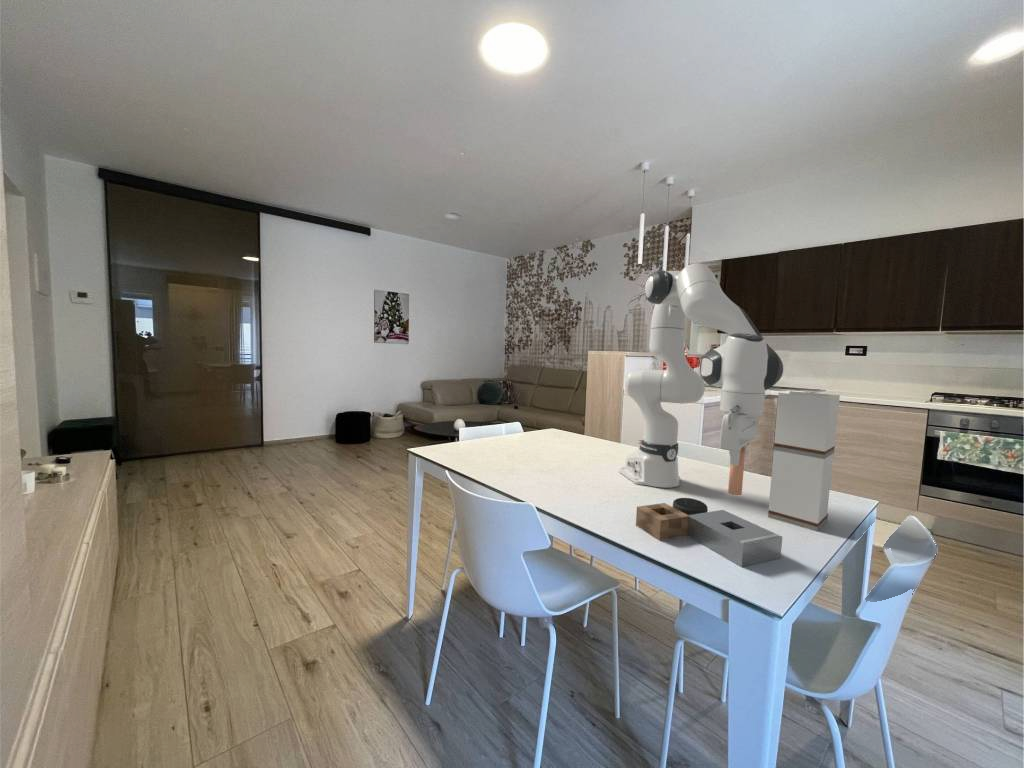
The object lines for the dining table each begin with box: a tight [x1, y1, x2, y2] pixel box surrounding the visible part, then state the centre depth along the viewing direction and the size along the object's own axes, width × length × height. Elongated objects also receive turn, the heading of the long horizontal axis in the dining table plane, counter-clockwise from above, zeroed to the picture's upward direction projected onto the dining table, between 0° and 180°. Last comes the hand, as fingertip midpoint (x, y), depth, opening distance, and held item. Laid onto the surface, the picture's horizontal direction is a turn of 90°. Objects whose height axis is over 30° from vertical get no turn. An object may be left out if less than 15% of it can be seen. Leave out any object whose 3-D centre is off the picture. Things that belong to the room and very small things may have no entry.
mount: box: [635, 502, 688, 541], centre depth 106 cm, size 9×9×5 cm
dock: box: [686, 509, 783, 568], centre depth 98 cm, size 16×12×5 cm
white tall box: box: [767, 390, 841, 532], centre depth 114 cm, size 11×11×35 cm
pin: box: [727, 447, 746, 496], centre depth 96 cm, size 3×3×11 cm
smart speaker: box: [672, 497, 709, 515], centre depth 115 cm, size 9×9×4 cm
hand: (737, 463), depth 96 cm, fingers closed on pin, 3 cm apart
